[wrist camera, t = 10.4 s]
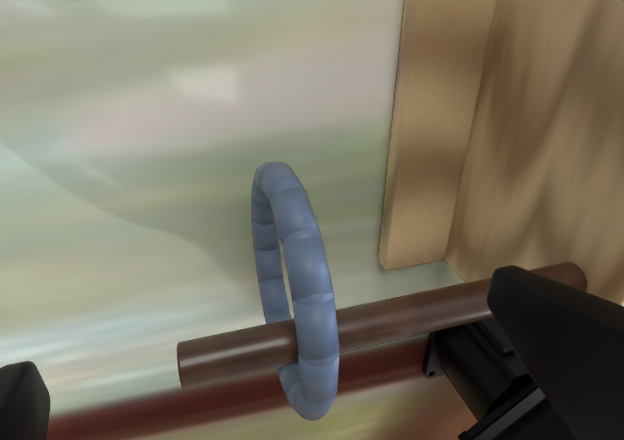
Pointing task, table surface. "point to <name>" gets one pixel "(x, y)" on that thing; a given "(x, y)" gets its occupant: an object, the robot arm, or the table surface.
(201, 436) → the table surface
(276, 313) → the slate ring
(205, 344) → the peg rack
